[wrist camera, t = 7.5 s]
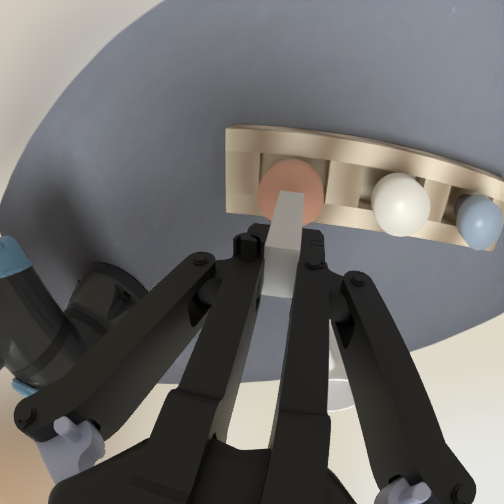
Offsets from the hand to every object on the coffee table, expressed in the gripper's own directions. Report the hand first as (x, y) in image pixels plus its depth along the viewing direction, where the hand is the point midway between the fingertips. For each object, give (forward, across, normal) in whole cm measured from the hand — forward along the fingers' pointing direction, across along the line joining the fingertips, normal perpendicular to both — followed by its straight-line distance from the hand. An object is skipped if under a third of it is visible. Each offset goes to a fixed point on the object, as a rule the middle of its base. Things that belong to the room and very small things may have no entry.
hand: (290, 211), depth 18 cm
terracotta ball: (+7, 0, 0) cm, 7 cm away
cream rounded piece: (+8, +9, 0) cm, 12 cm away
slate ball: (+8, +18, 0) cm, 20 cm away
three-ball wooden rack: (+10, +9, 0) cm, 13 cm away
